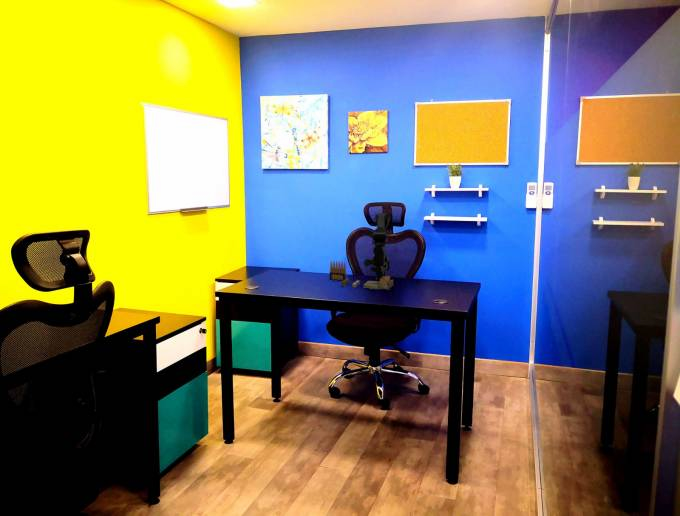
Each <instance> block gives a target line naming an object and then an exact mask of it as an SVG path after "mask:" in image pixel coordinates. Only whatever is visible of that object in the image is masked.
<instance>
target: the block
mask: <svg viewBox="0 0 680 516" xmlns="http://www.w3.org/2000/svg"><path fill="white" fill-rule="evenodd" d="M390 281H391V276H389V275H388V276H387V275H386V276H383V277H382V278H380V285H382V286H387V285H388V283H389V282H390Z"/></svg>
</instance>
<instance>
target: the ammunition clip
mask: <svg viewBox="0 0 680 516" xmlns="http://www.w3.org/2000/svg"><path fill="white" fill-rule="evenodd" d="M346 266H347V265H346V262H345V261H338V260H337V261H336V260H335V261H332V260H330V266H329V278H328V279H329V280H337V281H336V282H338V281H344V280H345V279H347V267H346ZM329 280H328V281H329Z"/></svg>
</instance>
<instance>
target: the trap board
mask: <svg viewBox="0 0 680 516" xmlns="http://www.w3.org/2000/svg"><path fill="white" fill-rule="evenodd" d="M348 283H349V284H350V278H347V277H346V279H345V280H344V281H342V282H341V288H345V287H346V286H347V285H349V284H348ZM360 283H361V280H358V279H357V280H356V281H354V282H353V283H352V284H351V288H352V287H354V288H353V289H355V288H357V287H358V286H359V285H361V284H360ZM346 284H347V285H346ZM358 284H359V285H358ZM345 285H346V286H345ZM357 285H358V286H357ZM344 286H345V287H344ZM356 286H357V287H356ZM392 286H393V287H394V279H390V282H389V283H388V285H387V286H382V285H380V282H378V280H367V281H366V282H365V283H364V284H363V288H369V289H368V290H381V289H386V290H385V291H390V290H391V289H392V288H391V287H392ZM390 288H391V289H390Z"/></svg>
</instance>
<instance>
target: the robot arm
mask: <svg viewBox="0 0 680 516" xmlns="http://www.w3.org/2000/svg"><path fill="white" fill-rule="evenodd" d="M374 222H375V223H376V228H375V229H374V230H373V233H372V238H371V239H372V242H371V243H372V244H371V245H374V246H373V247H374V248H373V250H372V253H373V257H372V258H370V259H369V258H365V259H364V261H363V265H364V267H365V268H367V267H369V266H371V267H370V272H374V273H375V275H376V278H375V280H374V281H378V282H380V278H382V277H383V276H387V271H390V270H391V269H390V268H391V266H390V265H391V264H390V263H391V262H390V261H389V259H388V256H387V254H386V245H387V244H388V237H389V236H388V233H386V230H387V229H386V228H387V227H388V225H389V222H390V214H388V213H385V212H379V213H376V214H375V215H374Z"/></svg>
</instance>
